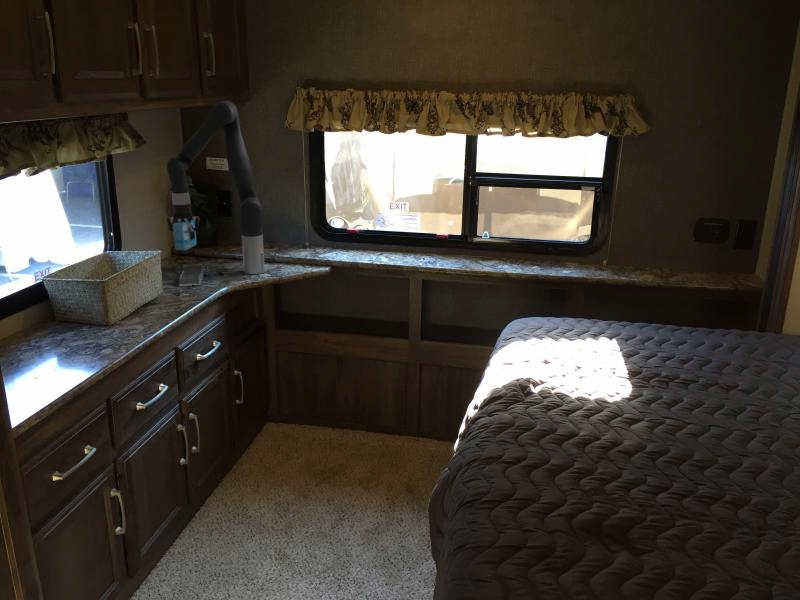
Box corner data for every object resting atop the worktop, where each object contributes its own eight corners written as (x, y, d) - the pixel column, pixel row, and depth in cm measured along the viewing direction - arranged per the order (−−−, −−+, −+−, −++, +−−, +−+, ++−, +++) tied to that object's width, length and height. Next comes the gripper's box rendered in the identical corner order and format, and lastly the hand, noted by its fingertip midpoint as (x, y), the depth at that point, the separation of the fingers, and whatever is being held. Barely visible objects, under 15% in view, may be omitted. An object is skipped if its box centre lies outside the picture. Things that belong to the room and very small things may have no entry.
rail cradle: (203, 275, 302) (202, 264, 301) (199, 285, 287) (198, 274, 286) (184, 275, 301) (183, 265, 299) (179, 286, 286) (178, 275, 284)
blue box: (184, 251, 300) (181, 224, 296) (175, 250, 301) (172, 224, 297) (197, 244, 311) (194, 219, 308) (188, 244, 312) (185, 218, 308)
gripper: (199, 200, 304) (202, 237, 310) (166, 201, 302) (170, 238, 307) (197, 203, 297) (200, 241, 303) (163, 204, 295) (167, 242, 300)
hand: (185, 239), depth 305 cm, fingers closed on blue box, 5 cm apart
